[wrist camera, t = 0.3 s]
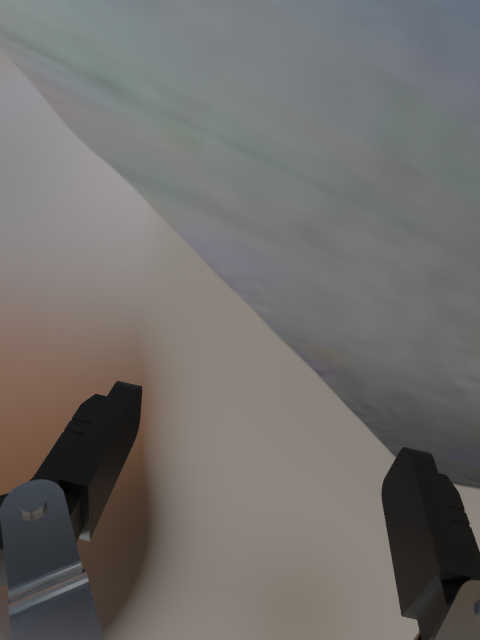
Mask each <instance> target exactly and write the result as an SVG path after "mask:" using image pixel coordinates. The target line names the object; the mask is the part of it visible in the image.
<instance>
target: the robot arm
mask: <svg viewBox="0 0 480 640" xmlns="http://www.w3.org/2000/svg"><path fill="white" fill-rule="evenodd" d="M141 400H142V386H138V385H134V384H129V383H124V382H121V381H117V382H116V383H115V384H114V386H113V388H112V390H111V391H110V393H109V394H108V396H102V395H98V394H95V395H93V396H92V397H91V398H89V399H88V400H86V401H85V402H84V403H82V404H81V405H80V407H79V408H78V410H77V411H76V413H75V414H74V416H73V417H72V420H71V421H70V422H69V424H68V425H67V427H66V428H65V431H64V432H63V433H62V434H61V436H60V437H59V439H58V441H57V442H56V443H55V445H54V446H53V448H52V449H51V451H50V453H49V454H48V456H47V457H46V459H45V460H44V462H43V463H42V465H41V466H40V468H39V469H38V471H37V473H36V474H35V475H34V477H33V478H32V479H31V480H30V481H28V482H26V483H23V484H21V485H19V486H18V487H16V488H15V489H13V490H12V491H11V492H10V493H8V494H4V495H1V496H0V586H2V585H8V590H9V615H10V624H11V634H12V640H103V637H102V632H101V628H100V624H99V620H98V616H97V612H96V608H95V605H94V600H93V597H92V592H91V588H90V584H89V581H88V577H87V574H86V572H85V570H84V569H83V567H82V564H81V560H80V556H79V552H78V548H77V544H76V543H77V541H78V539H83V540H87V541H90V539H91V537H92V535H93V533H94V531H95V528H96V526H97V524H98V522H99V519H100V517H101V515H102V513H103V511H104V508H105V506H106V504H107V502H108V500H109V497H110V495H111V493H112V490H113V488H114V486H115V484H116V482H117V479H118V477H119V475H120V473H121V471H122V468H123V466H124V464H125V462H126V459H127V457H128V455H129V453H130V451H131V448H132V446H133V444H134V442H135V439H136V436H137V433H138V429H139V424H140V415H141ZM382 504H383V509H384V515H385V521H386V527H387V532H388V538H389V544H390V551H391V556H392V562H393V568H394V574H395V580H396V586H397V592H398V597H399V603H400V609H401V615H402V616H403V617H407V618H412V619H416V620H417V621H418V625H419V632H418V634H417V635H416V636H415V638H414V640H480V552H479V549H478V546H477V543H476V541H475V537H474V534H473V532H472V529H471V527H469V524H470V523H469V520H468V517H467V514H466V513H465V512H464V510H465V509H464V506H463V503H462V500H461V497H460V494H459V492H458V491H457V489H456V488H455V486H454V485H453V484H452V482H451V481H450V479H449V478H448V477H447V475H444V474H440V473H438V471H437V467H436V464H435V461H434V458H433V456H432V454H431V453H428V452H424V451H420V450H415V449H411V448H406V447H403V448H402V449H401V450H400V452H399V454H398V455H397V457H396V459H395V461H394V462H393V464H392V466H391V468H390V470H389V471H388V473H387V475H386V477H385V478H384V481H383V485H382Z"/></svg>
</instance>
